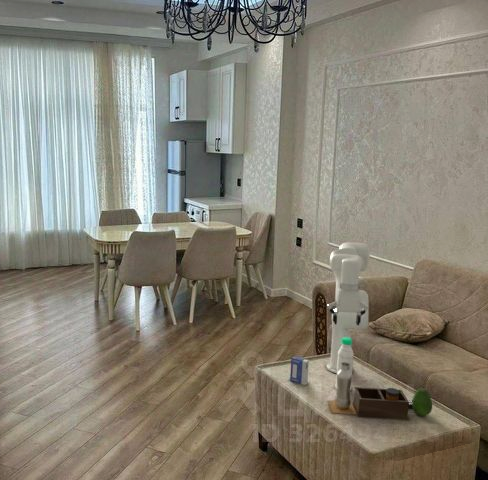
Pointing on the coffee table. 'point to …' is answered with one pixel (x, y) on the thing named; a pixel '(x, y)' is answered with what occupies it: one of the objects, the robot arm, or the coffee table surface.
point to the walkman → (299, 370)
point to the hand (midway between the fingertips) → (346, 323)
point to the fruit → (422, 402)
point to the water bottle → (345, 355)
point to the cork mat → (342, 411)
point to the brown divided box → (379, 404)
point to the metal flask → (343, 386)
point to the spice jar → (392, 394)
